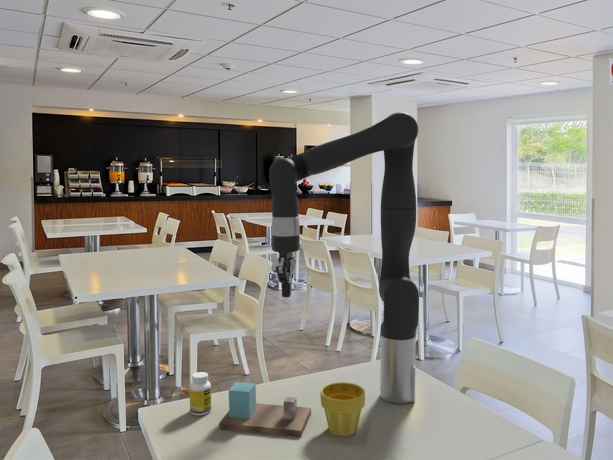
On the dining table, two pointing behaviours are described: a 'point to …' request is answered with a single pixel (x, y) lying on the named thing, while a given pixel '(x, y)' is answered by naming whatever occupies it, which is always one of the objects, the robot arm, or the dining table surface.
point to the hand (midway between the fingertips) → (286, 296)
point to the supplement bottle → (200, 394)
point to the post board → (271, 419)
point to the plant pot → (342, 407)
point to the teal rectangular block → (242, 400)
